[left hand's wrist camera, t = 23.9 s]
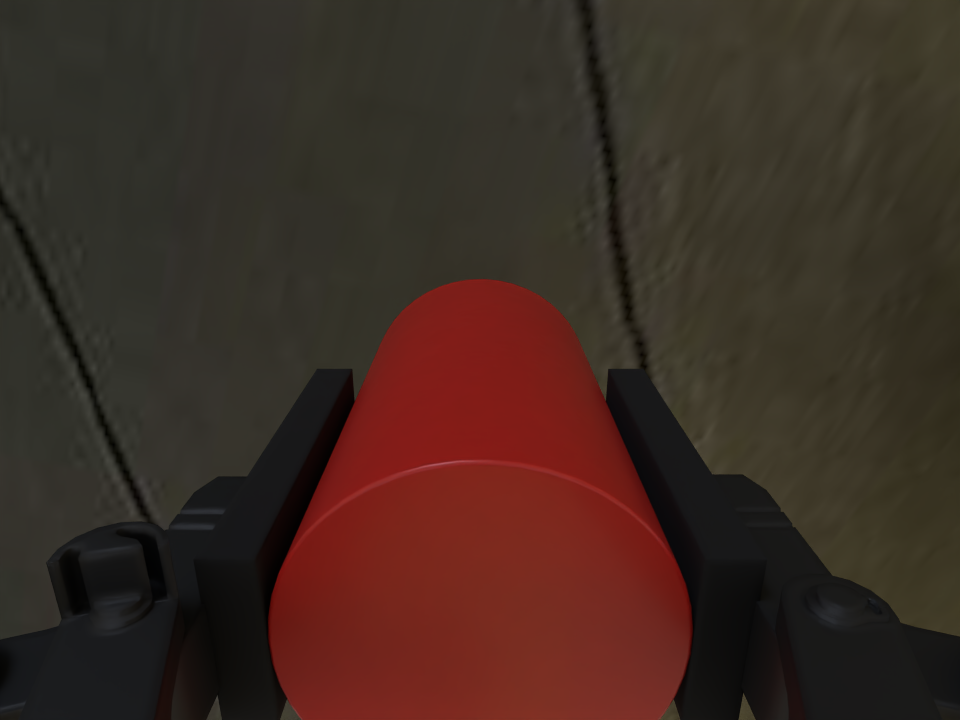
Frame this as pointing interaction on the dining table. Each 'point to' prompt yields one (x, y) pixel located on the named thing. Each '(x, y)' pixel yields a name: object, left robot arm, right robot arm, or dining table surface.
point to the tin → (480, 536)
